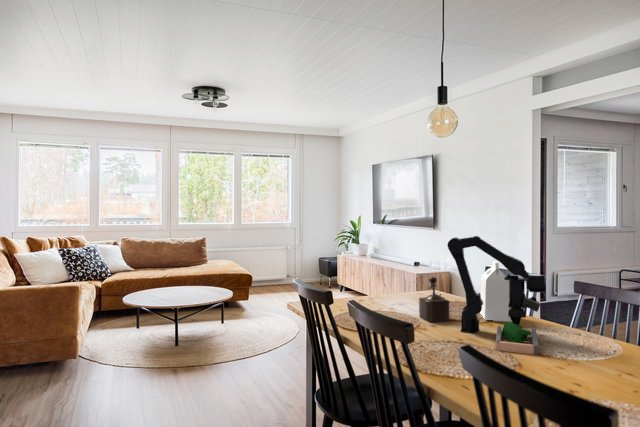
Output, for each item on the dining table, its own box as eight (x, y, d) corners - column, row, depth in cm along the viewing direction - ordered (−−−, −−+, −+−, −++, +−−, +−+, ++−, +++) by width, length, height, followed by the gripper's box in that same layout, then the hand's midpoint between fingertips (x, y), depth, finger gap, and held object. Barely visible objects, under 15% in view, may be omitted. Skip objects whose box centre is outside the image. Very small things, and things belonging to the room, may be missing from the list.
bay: (495, 349, 165) (495, 341, 165) (497, 332, 186) (497, 325, 186) (538, 354, 159) (538, 346, 159) (535, 336, 181) (535, 329, 181)
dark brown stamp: (451, 321, 205) (451, 281, 205) (429, 322, 203) (429, 282, 202) (434, 313, 221) (435, 276, 220) (413, 314, 218) (413, 277, 218)
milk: (511, 321, 204) (512, 263, 204) (484, 320, 206) (485, 263, 206) (505, 315, 216) (505, 260, 216) (479, 314, 218) (480, 260, 217)
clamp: (524, 354, 173) (534, 335, 169) (509, 350, 173) (519, 332, 169) (514, 333, 184) (523, 316, 180) (499, 330, 184) (509, 312, 180)
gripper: (540, 297, 171) (540, 338, 172) (537, 288, 189) (537, 325, 189) (508, 295, 176) (508, 335, 176) (508, 286, 193) (508, 323, 193)
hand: (516, 329), depth 184 cm, fingers closed
